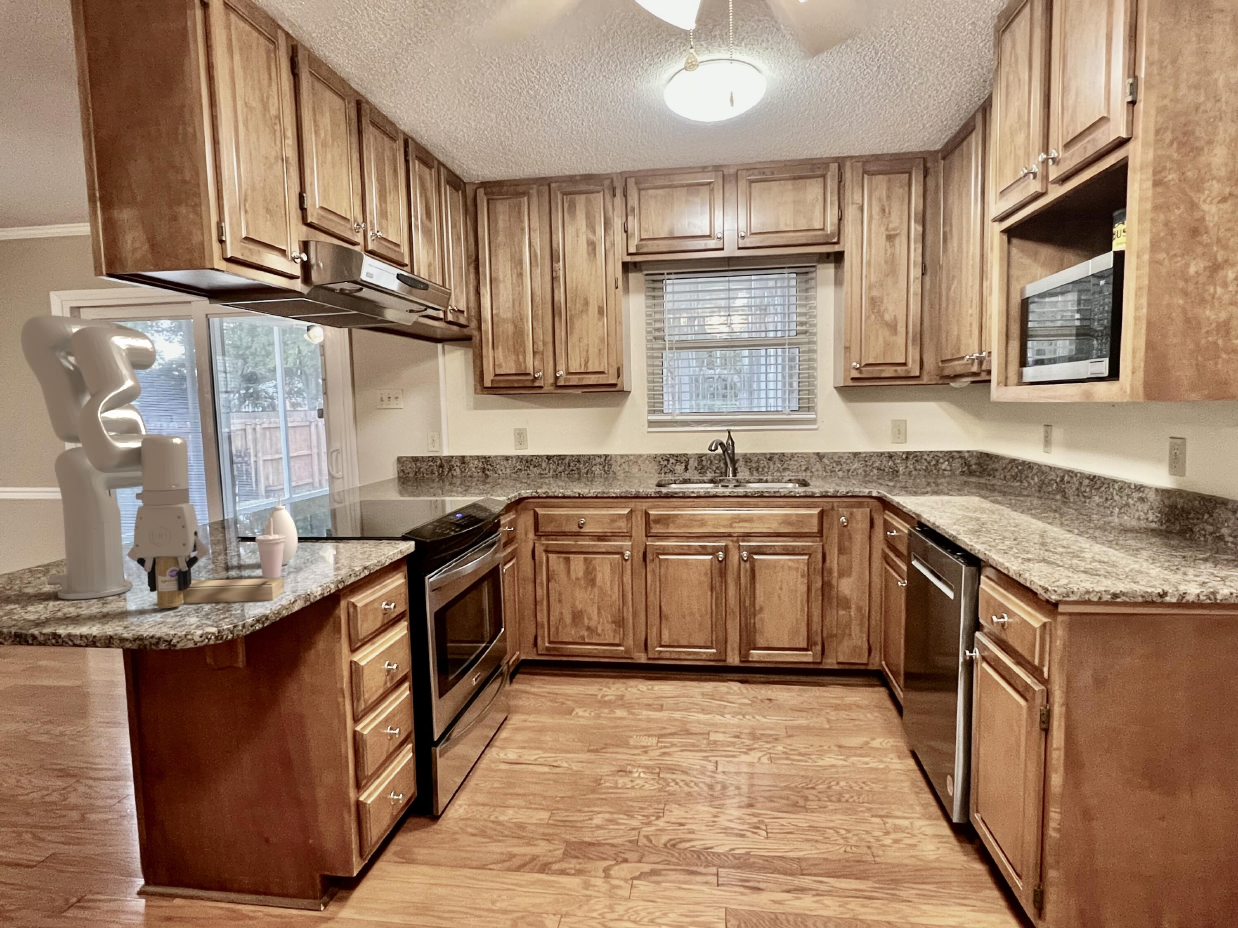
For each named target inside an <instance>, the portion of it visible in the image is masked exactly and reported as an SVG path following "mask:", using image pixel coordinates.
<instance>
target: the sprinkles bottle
mask: <svg viewBox="0 0 1238 928" xmlns="http://www.w3.org/2000/svg"><path fill="white" fill-rule="evenodd" d="M155 569H156V591H155V592H156V601H157V603H156V607H157V608H160V609H168V608H176V607H180V606H182V605H183V603H184V600H183V591H179V590H178V571H180V565H179V562H178V558H177V557H156V565H155ZM184 604H185V603H184Z"/></svg>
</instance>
